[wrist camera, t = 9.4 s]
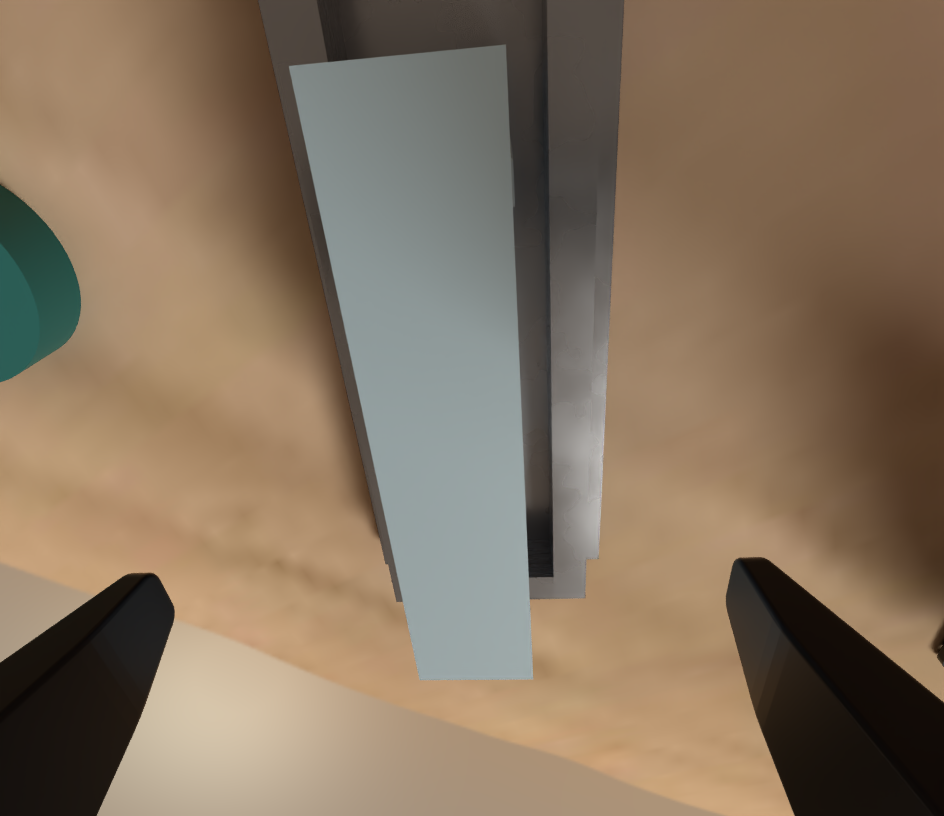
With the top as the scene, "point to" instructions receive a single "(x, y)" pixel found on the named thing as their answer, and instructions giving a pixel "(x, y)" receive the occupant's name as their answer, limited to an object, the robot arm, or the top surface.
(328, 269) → the floor track
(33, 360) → the bracket
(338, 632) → the top surface
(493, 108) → the door panel
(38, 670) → the robot arm
